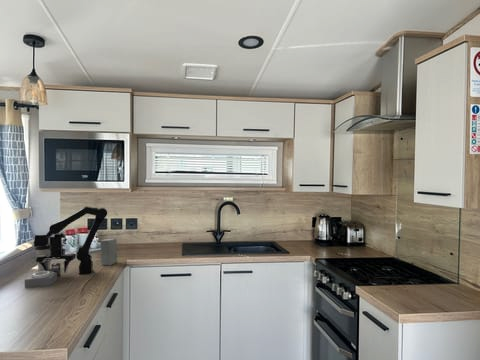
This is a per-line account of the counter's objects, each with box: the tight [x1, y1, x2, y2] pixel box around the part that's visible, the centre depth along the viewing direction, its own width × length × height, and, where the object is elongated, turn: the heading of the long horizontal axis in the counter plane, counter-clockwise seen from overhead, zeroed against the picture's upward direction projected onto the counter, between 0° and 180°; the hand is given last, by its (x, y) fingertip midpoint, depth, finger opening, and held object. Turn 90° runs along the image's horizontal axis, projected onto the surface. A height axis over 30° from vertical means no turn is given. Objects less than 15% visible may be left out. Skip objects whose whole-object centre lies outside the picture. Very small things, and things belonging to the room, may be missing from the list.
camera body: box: [24, 270, 58, 288], centre depth 167 cm, size 12×9×6 cm
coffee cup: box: [34, 243, 52, 272], centre depth 192 cm, size 9×9×15 cm
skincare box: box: [100, 238, 118, 266], centre depth 204 cm, size 8×7×16 cm
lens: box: [50, 262, 62, 278], centre depth 179 cm, size 5×5×7 cm
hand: (56, 272), depth 179 cm, fingers open, 9 cm apart
